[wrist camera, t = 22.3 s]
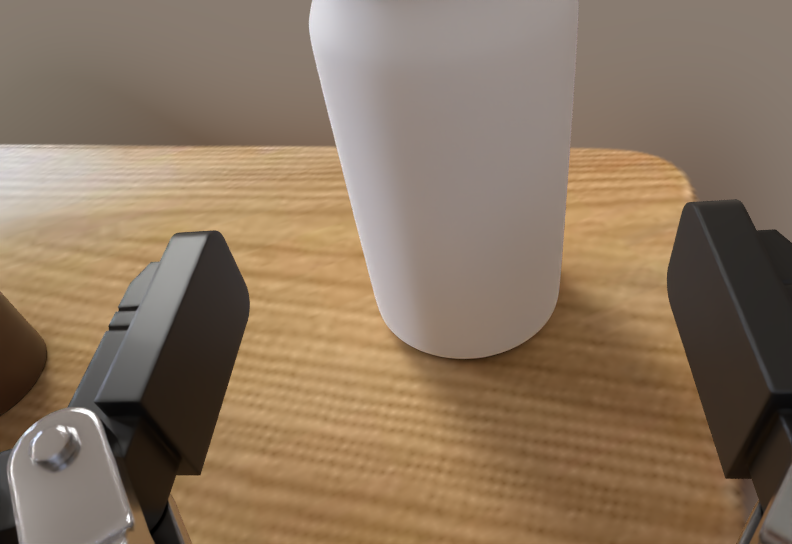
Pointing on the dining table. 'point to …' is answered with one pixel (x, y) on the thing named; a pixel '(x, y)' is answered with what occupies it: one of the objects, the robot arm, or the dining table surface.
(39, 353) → the pepper mill
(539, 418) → the dining table surface
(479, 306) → the can
